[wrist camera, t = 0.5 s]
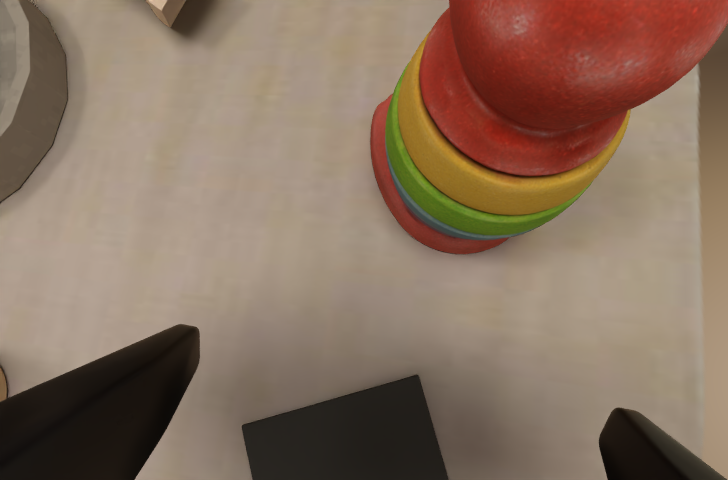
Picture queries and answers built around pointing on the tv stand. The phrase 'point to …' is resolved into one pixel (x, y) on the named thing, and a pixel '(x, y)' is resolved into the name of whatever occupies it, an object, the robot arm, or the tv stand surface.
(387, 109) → the stacking bear
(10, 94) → the mechanical component
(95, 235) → the tv stand surface
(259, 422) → the mat
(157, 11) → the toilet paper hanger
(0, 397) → the candle
